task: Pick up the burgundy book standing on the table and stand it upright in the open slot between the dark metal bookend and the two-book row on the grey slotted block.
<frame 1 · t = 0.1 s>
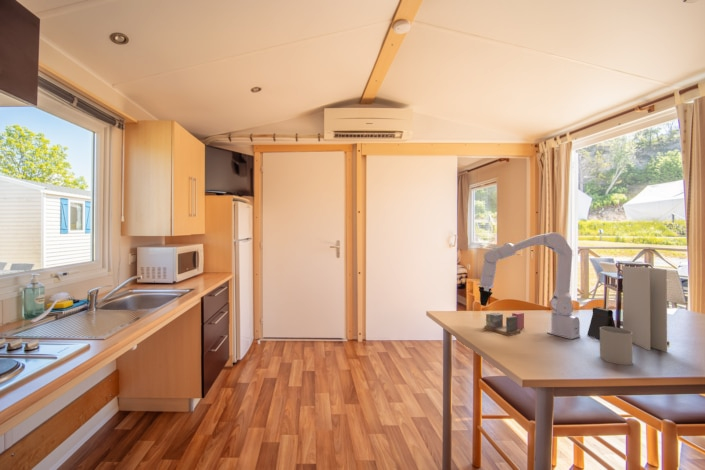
hand: (482, 303, 139), 11 cm above the table, tool pointing down, fingers open, 7 cm apart
grey slotted block: (502, 330, 133), on the table
burgundy book: (518, 328, 136), on the table
brochure: (643, 345, 116), on the table
cup: (615, 360, 102), on the table
door stopper: (602, 337, 125), on the table
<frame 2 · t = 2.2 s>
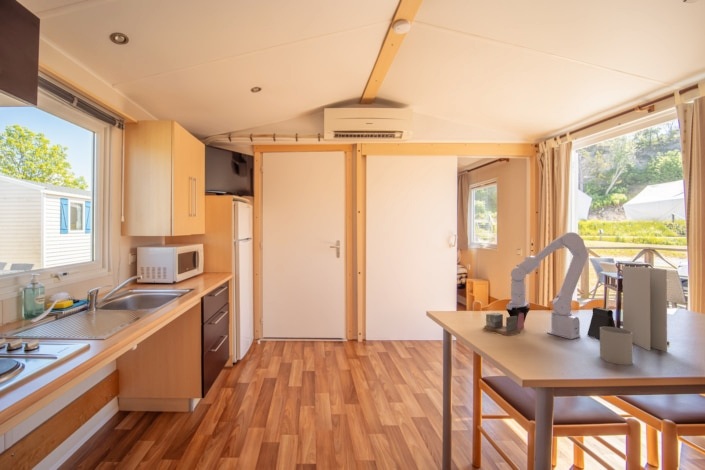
hand: (518, 323, 136), 2 cm above the table, tool pointing down, fingers closed on burgundy book, 5 cm apart
burgundy book: (518, 328, 136), on the table, touching gripper
everything else where it was.
when the fingers open (5 cm above the table, at t = 6.5 s): burgundy book drops 1 cm, resting on grey slotted block.
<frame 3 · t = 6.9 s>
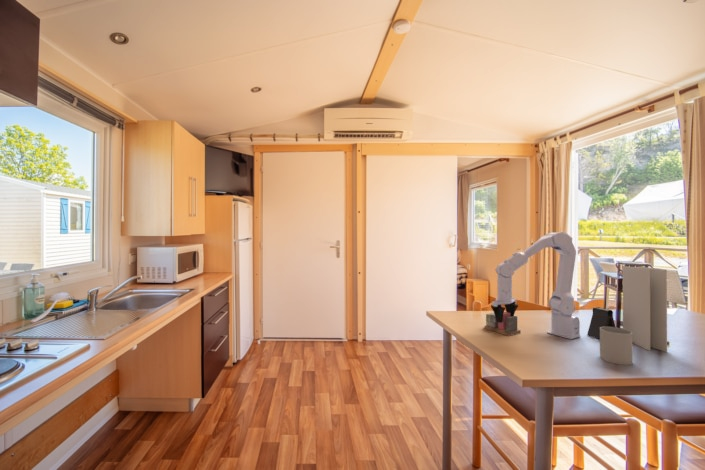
hand: (504, 321, 132), 5 cm above the table, tool pointing down, fingers open, 7 cm apart
burgundy book: (504, 328, 132), point 1 cm above the table, touching grey slotted block
everything else where it was.
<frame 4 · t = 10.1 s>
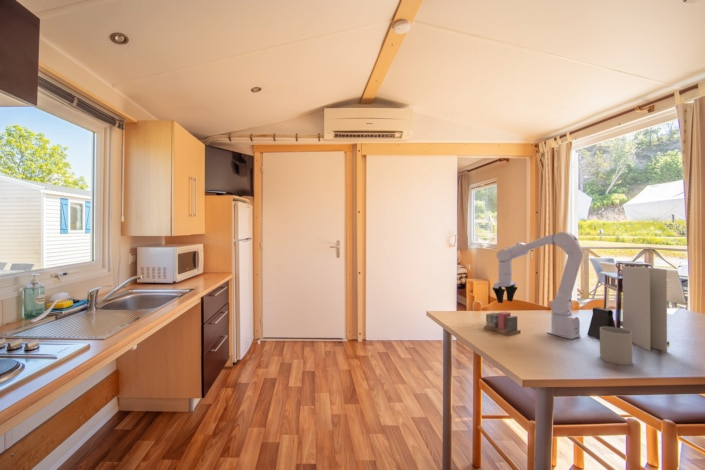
hand: (505, 301, 144), 10 cm above the table, tool pointing down, fingers open, 7 cm apart
nothing on the table moved.
at the end: burgundy book 0.1 cm from the target spot on the grey slotted block, point 1.2 cm above the grey slotted block's base; burgundy book tilted 0°; the gripper is holding nothing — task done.
